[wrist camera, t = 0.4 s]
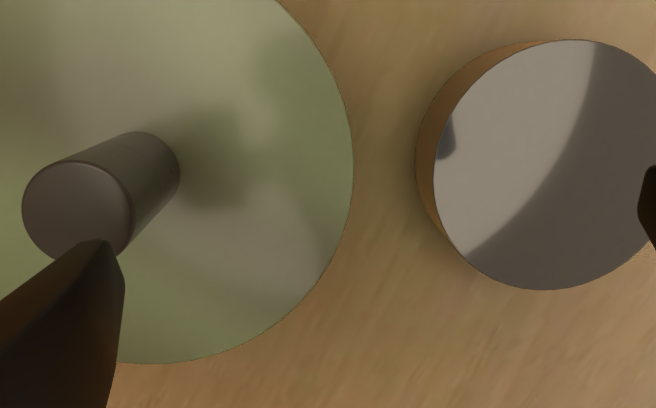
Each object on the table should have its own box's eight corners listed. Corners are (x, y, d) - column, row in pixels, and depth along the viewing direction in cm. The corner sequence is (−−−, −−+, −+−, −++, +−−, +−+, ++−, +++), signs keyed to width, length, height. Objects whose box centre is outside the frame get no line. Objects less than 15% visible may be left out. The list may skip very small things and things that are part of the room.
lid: (278, 389, 21) (270, 520, 15) (-94, 285, 19) (-273, 386, 13) (410, 37, 18) (465, 25, 12) (-20, -126, 16) (-208, -236, 10)
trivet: (536, 298, 27) (571, 333, 23) (370, 186, 25) (381, 206, 21) (677, 127, 25) (736, 138, 21) (508, -7, 23) (545, -19, 20)
